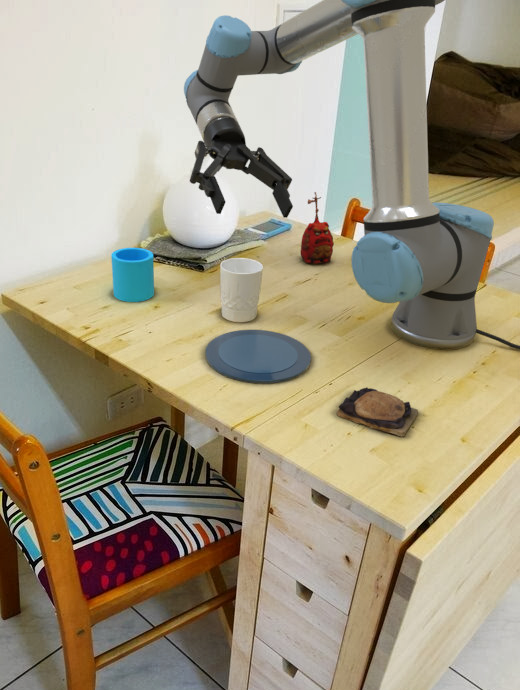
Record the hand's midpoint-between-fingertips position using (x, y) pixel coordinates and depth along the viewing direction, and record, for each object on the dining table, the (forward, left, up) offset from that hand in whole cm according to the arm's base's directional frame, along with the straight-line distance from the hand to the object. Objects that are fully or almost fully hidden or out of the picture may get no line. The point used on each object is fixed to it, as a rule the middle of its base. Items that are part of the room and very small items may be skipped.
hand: (255, 210), depth 115 cm
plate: (-9, +15, -20) cm, 27 cm away
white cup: (+1, +2, -20) cm, 20 cm away
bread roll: (-32, +22, -20) cm, 44 cm away
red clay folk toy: (-1, -34, -20) cm, 39 cm away
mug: (+25, +3, -20) cm, 32 cm away
